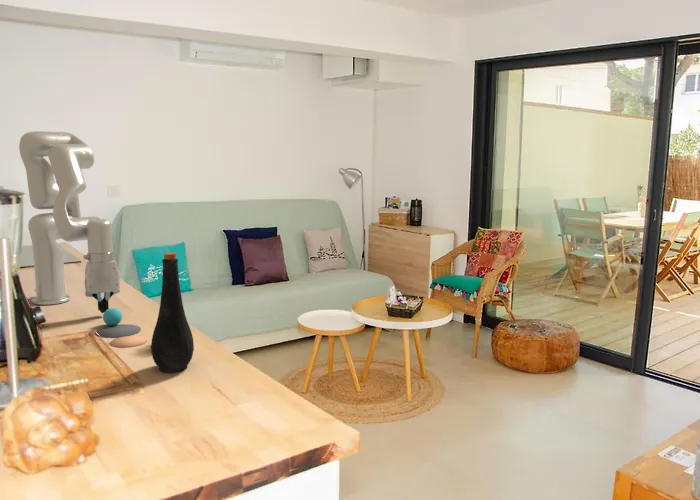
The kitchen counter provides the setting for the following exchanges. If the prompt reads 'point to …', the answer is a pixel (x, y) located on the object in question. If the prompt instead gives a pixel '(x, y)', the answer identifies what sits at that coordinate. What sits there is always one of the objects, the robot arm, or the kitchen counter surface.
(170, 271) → the bottle
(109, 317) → the ball
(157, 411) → the kitchen counter surface
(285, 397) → the kitchen counter surface
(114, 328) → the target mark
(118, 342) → the far mark
